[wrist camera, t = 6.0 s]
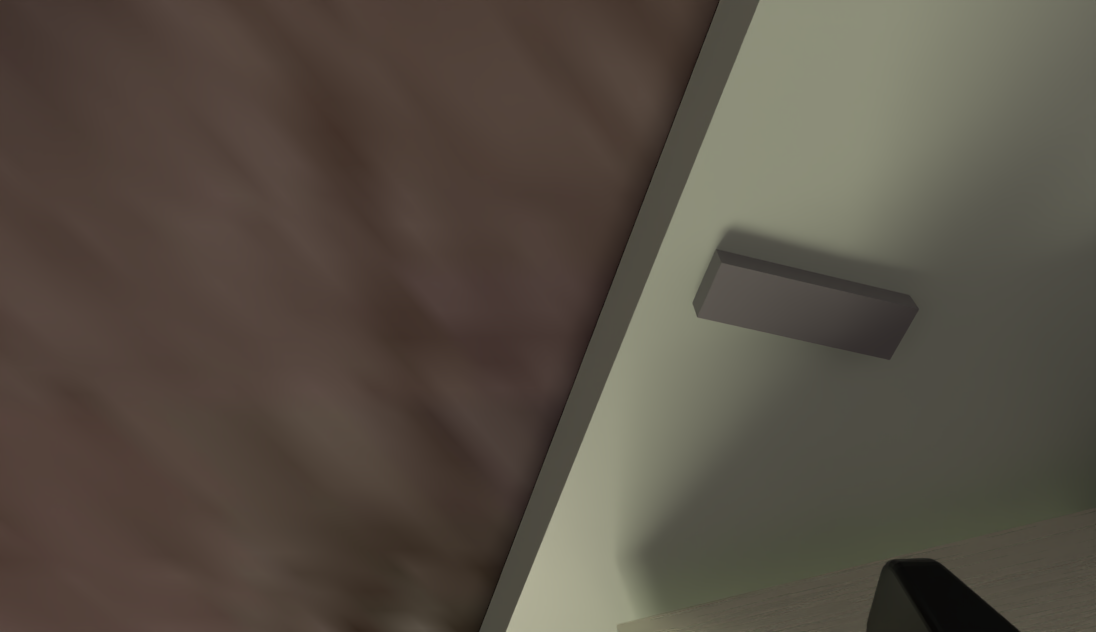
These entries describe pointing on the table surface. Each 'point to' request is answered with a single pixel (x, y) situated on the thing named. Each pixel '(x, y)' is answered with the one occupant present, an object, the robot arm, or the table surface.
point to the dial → (980, 562)
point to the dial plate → (833, 313)
